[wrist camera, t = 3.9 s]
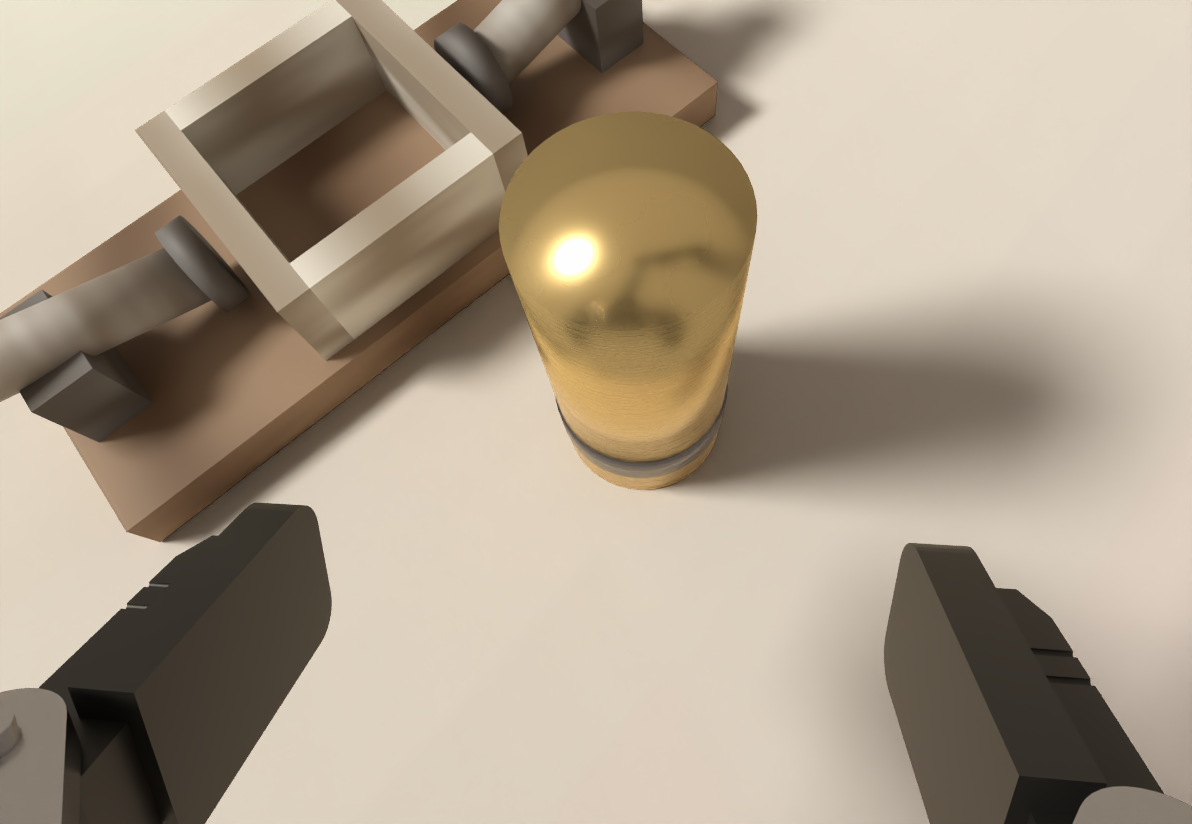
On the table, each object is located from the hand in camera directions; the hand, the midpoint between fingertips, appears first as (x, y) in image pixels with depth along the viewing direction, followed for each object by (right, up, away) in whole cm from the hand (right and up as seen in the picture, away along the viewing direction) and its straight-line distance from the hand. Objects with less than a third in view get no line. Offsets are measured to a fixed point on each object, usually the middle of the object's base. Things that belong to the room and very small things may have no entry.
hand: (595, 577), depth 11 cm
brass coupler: (+1, +2, +12) cm, 12 cm away
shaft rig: (-7, +9, +15) cm, 19 cm away
